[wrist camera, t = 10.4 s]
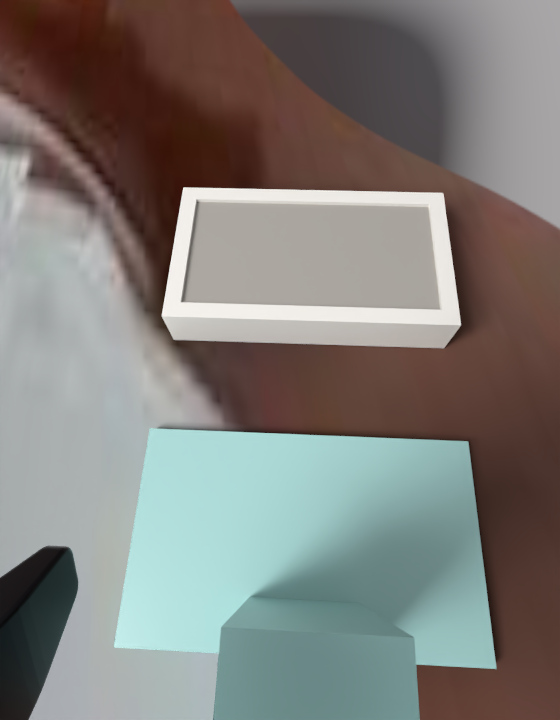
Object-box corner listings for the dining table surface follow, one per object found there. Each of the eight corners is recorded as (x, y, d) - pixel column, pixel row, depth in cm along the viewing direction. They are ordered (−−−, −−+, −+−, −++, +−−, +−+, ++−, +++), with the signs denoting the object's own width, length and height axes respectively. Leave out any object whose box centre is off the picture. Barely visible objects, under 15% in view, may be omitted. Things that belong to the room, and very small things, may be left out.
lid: (488, 664, 18) (677, 765, 9) (120, 643, 18) (-29, 721, 10) (461, 445, 21) (581, 368, 13) (154, 432, 22) (67, 350, 13)
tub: (443, 348, 23) (461, 325, 21) (173, 339, 24) (161, 316, 21) (429, 224, 26) (443, 192, 24) (192, 219, 27) (183, 187, 24)
